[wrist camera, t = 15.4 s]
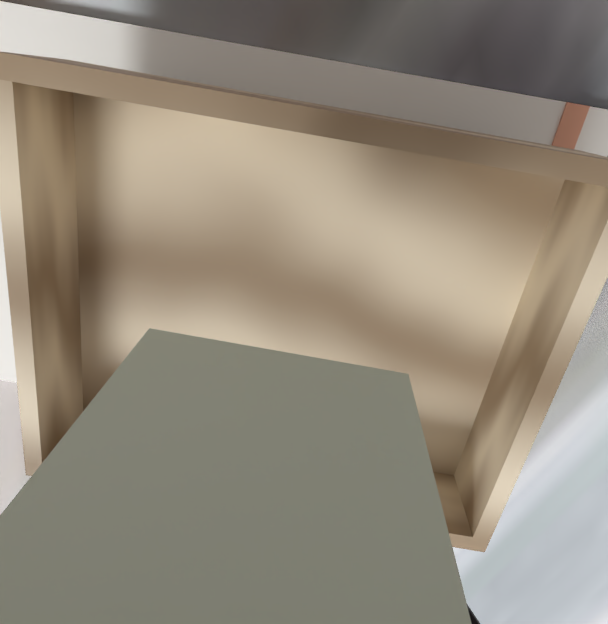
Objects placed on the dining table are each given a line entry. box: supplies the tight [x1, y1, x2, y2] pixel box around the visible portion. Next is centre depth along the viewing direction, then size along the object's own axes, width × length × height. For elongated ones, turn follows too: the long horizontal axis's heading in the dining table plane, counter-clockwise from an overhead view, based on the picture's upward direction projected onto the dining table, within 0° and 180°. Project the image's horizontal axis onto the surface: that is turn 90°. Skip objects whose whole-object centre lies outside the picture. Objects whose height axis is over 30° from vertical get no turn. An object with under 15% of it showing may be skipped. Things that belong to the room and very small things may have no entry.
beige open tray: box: [0, 51, 608, 552], centre depth 17 cm, size 13×16×6 cm
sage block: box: [0, 328, 472, 624], centre depth 7 cm, size 5×5×7 cm
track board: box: [0, 1, 608, 383], centre depth 21 cm, size 16×30×1 cm, turn 81°
